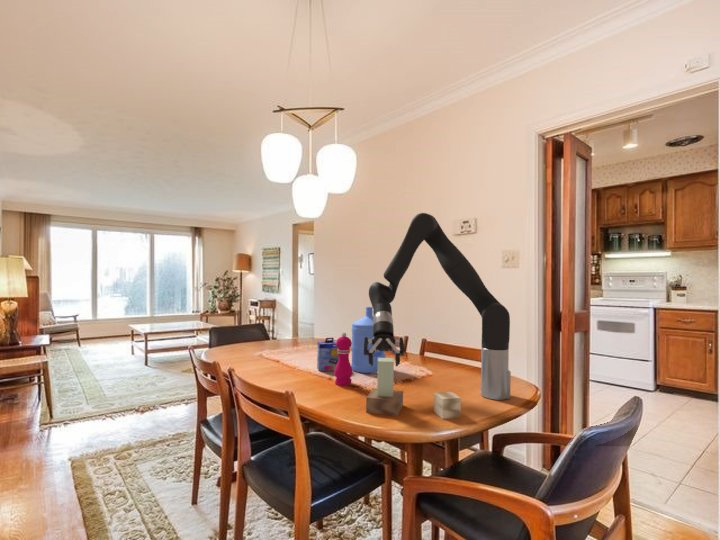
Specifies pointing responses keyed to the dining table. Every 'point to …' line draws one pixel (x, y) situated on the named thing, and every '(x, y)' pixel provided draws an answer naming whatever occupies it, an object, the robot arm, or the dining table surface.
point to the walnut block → (384, 403)
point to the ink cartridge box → (327, 355)
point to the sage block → (385, 377)
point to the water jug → (359, 333)
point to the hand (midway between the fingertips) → (384, 364)
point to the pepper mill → (343, 362)
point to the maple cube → (447, 405)
